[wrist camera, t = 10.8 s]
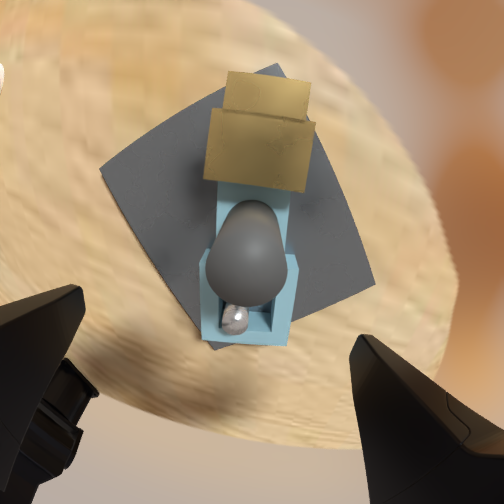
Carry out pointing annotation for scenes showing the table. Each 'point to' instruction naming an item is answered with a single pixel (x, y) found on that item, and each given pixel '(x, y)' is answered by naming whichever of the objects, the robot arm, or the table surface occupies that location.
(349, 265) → the base plate
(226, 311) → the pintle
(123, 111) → the table surface
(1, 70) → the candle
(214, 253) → the link
